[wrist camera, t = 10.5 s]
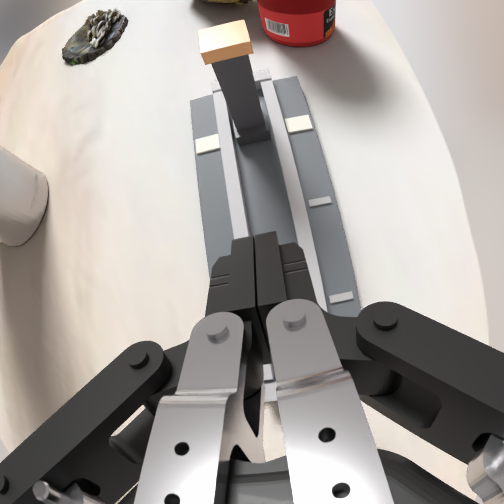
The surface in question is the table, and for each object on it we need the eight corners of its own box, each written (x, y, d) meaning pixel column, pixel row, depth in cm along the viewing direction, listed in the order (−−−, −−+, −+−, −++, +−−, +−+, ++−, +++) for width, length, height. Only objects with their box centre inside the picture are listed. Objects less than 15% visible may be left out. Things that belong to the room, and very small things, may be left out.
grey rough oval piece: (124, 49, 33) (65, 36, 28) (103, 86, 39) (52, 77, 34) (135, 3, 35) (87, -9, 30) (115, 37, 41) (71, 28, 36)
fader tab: (237, 146, 25) (200, 56, 15) (232, 117, 25) (197, 28, 16) (271, 138, 24) (251, 44, 15) (265, 110, 25) (243, 16, 15)
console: (233, 398, 22) (225, 406, 20) (193, 104, 28) (185, 89, 26) (368, 375, 21) (375, 381, 19) (296, 81, 27) (294, 64, 25)
